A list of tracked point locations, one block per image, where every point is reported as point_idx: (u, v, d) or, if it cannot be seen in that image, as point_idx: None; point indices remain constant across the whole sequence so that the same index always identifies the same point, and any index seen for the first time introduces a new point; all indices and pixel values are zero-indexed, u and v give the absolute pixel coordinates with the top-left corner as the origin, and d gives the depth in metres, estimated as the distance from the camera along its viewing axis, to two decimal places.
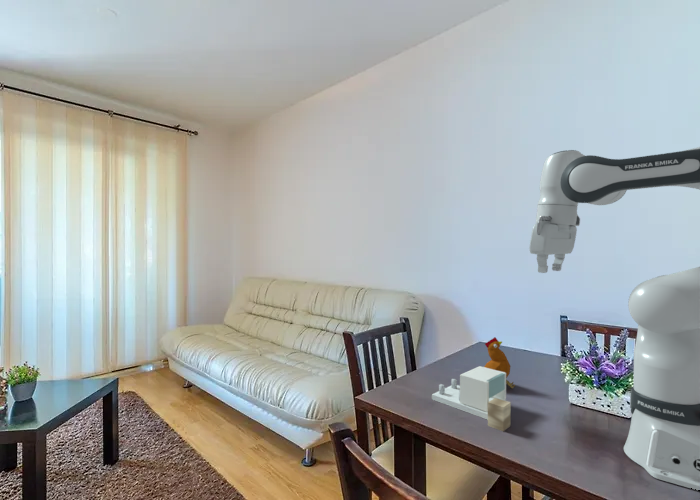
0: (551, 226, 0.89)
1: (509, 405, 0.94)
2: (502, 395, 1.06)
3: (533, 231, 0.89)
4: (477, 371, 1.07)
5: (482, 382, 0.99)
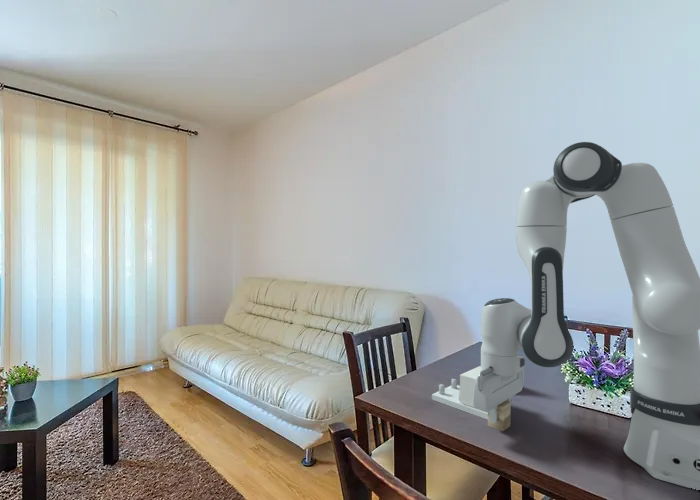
0: (492, 381, 0.88)
1: (509, 405, 0.94)
2: None
3: (475, 386, 0.89)
4: (477, 371, 1.07)
5: None
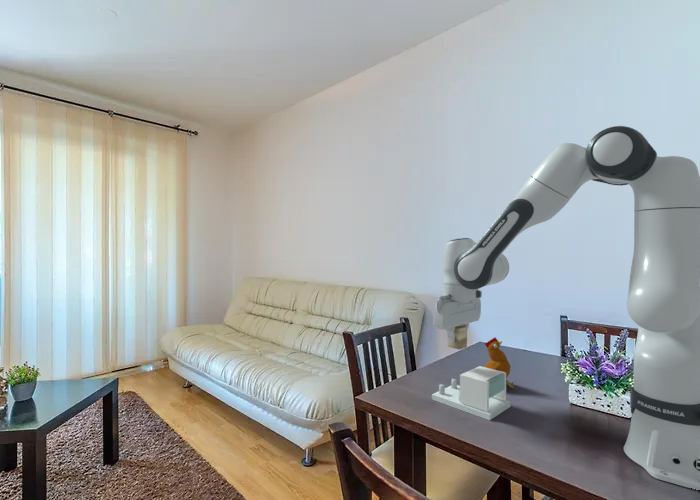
0: (449, 305, 1.04)
1: (466, 329, 1.10)
2: (502, 395, 1.06)
3: (435, 309, 1.05)
4: (477, 371, 1.07)
5: (482, 382, 0.99)
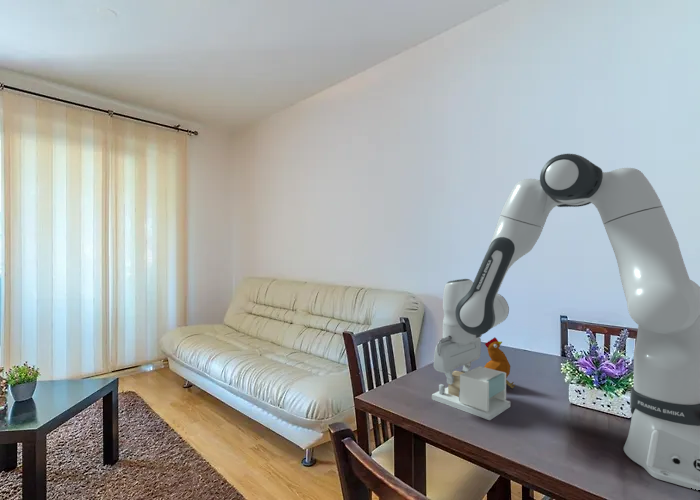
0: (449, 347, 1.05)
1: None
2: (502, 395, 1.06)
3: (435, 351, 1.05)
4: (477, 371, 1.07)
5: (482, 382, 0.99)
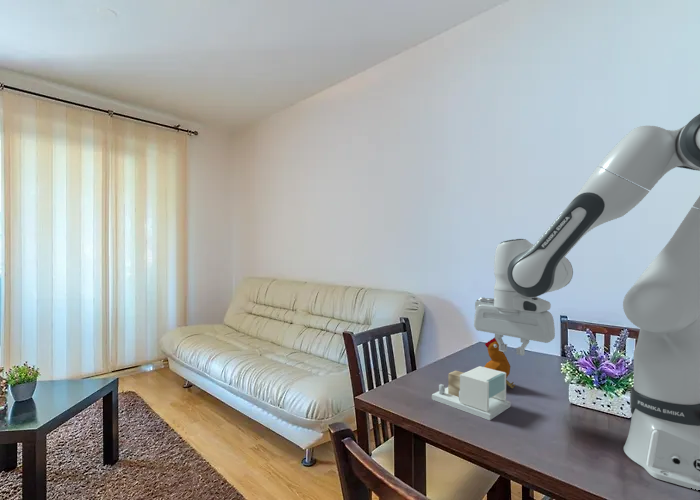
0: (483, 307, 1.03)
1: None
2: (502, 395, 1.06)
3: None
4: (477, 371, 1.07)
5: (482, 382, 0.99)
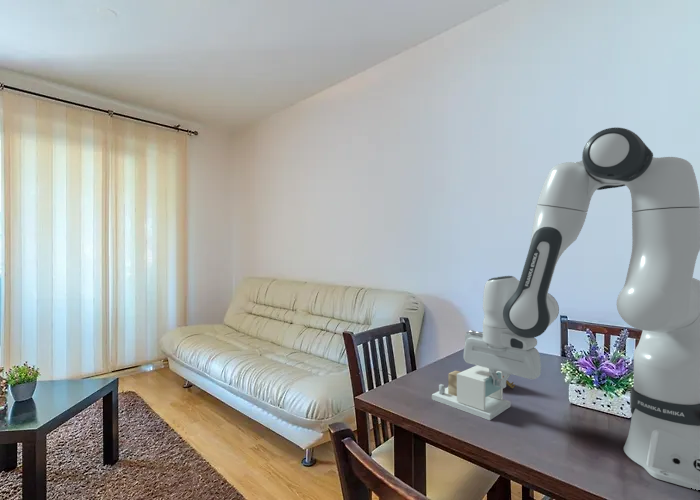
0: (472, 340, 1.05)
1: None
2: (499, 394, 1.07)
3: None
4: (474, 370, 1.08)
5: (479, 381, 1.00)
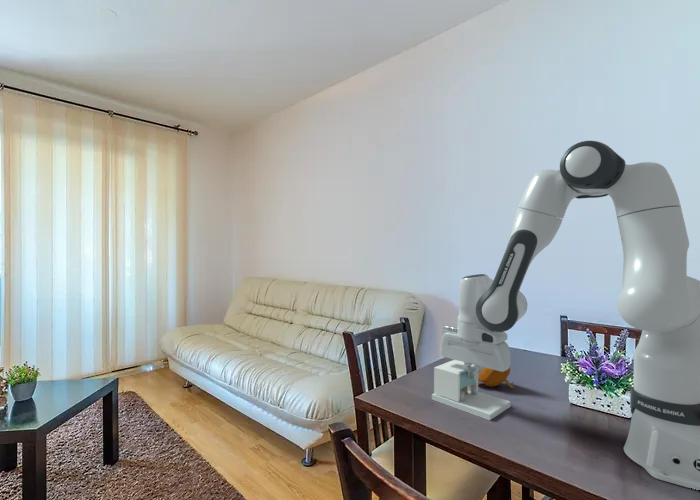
0: (448, 335, 1.11)
1: None
2: None
3: None
4: (451, 364, 1.13)
5: (454, 374, 1.06)
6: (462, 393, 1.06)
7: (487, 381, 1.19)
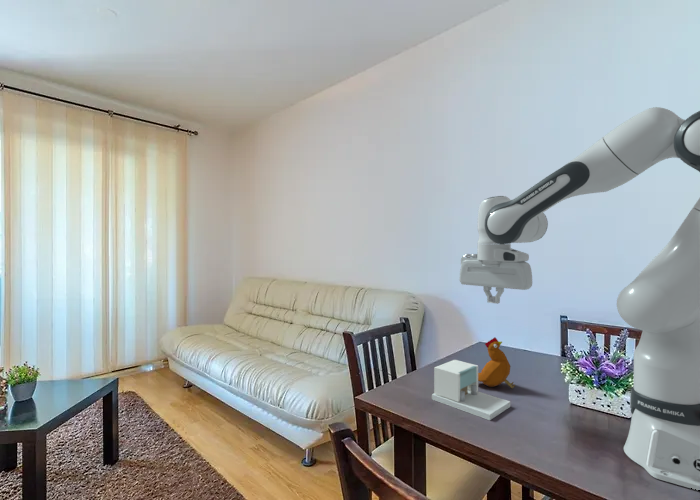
0: (467, 262, 1.11)
1: None
2: None
3: None
4: (451, 364, 1.13)
5: (454, 374, 1.06)
6: (462, 393, 1.06)
7: (487, 381, 1.19)
